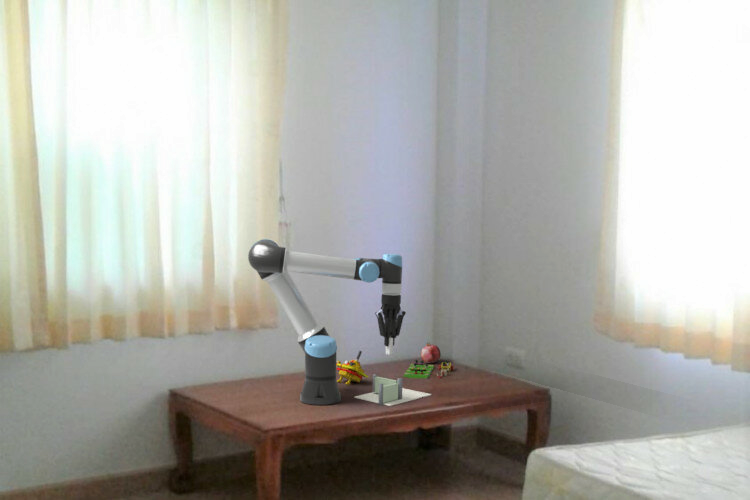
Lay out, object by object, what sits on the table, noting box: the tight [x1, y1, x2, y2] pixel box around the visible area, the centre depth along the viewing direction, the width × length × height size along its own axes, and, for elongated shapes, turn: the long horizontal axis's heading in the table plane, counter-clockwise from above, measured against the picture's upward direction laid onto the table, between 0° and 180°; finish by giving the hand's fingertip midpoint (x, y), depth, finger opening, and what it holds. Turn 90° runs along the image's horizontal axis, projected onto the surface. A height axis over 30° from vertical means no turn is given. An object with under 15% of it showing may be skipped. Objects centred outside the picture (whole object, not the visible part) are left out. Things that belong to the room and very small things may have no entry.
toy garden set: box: [403, 359, 455, 379], centre depth 391 cm, size 23×19×5 cm
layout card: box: [354, 387, 432, 407], centre depth 347 cm, size 24×18×1 cm
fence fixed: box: [378, 377, 404, 406], centre depth 338 cm, size 12×2×8 cm, turn 138°
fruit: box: [420, 341, 442, 364], centre depth 412 cm, size 9×10×10 cm
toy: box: [336, 350, 370, 386], centre depth 370 cm, size 14×10×15 cm
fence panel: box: [372, 373, 397, 393], centre depth 347 cm, size 12×2×7 cm, turn 49°
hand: (388, 354), depth 353 cm, fingers closed
